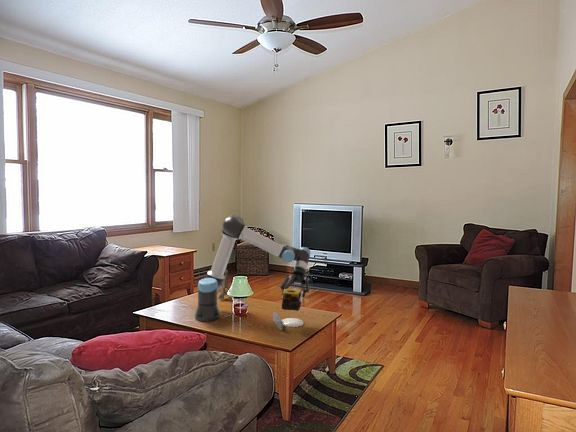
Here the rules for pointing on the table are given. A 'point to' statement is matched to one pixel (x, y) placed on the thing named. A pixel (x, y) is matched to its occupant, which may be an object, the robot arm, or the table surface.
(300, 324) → the coaster
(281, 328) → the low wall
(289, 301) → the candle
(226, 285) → the eiffel tower
